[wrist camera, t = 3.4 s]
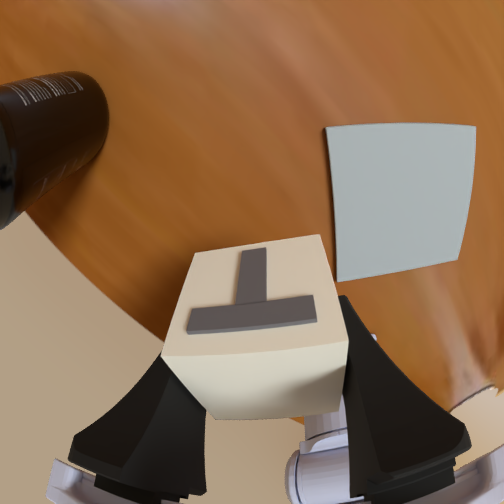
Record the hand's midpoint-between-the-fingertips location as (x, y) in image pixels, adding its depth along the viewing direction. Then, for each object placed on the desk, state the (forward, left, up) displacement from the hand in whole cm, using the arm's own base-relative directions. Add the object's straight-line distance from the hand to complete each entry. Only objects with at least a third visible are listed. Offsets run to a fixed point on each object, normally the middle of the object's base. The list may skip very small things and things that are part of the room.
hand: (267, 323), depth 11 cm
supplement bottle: (+10, +11, -8) cm, 17 cm away
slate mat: (0, -10, -8) cm, 13 cm away
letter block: (0, 0, -2) cm, 2 cm away
